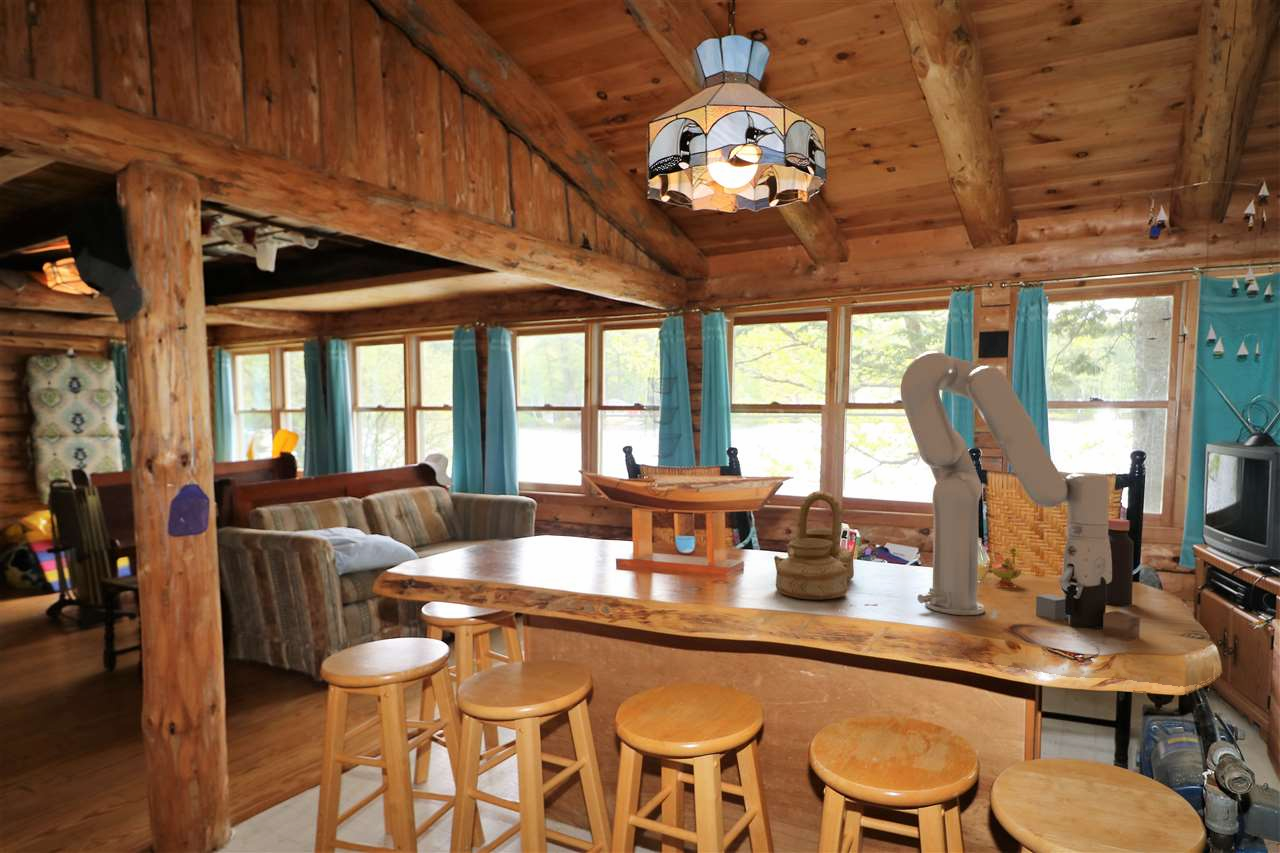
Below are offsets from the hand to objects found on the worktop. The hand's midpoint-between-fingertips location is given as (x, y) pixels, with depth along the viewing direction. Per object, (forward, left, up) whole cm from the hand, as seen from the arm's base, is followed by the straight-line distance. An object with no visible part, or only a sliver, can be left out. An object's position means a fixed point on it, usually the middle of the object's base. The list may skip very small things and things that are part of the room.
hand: (1084, 613), depth 154 cm
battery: (0, 0, -3) cm, 3 cm away
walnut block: (0, -8, -3) cm, 8 cm away
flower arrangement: (+17, +33, -3) cm, 37 cm away
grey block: (0, +7, -3) cm, 8 cm away
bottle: (+25, +9, -3) cm, 27 cm away
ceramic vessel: (-31, +51, -3) cm, 60 cm away
